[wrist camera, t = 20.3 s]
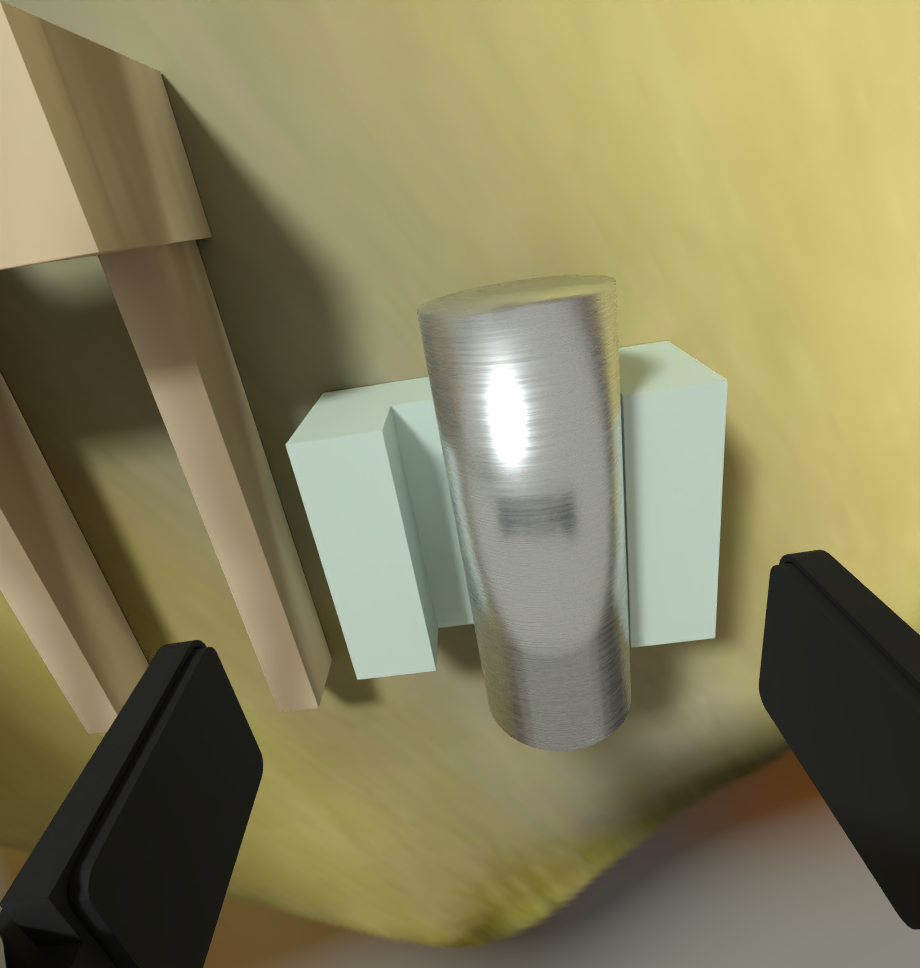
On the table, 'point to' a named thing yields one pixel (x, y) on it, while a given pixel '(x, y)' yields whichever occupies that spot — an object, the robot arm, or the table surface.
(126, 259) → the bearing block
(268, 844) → the table surface
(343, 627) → the v block
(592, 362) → the axle
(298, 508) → the table surface
